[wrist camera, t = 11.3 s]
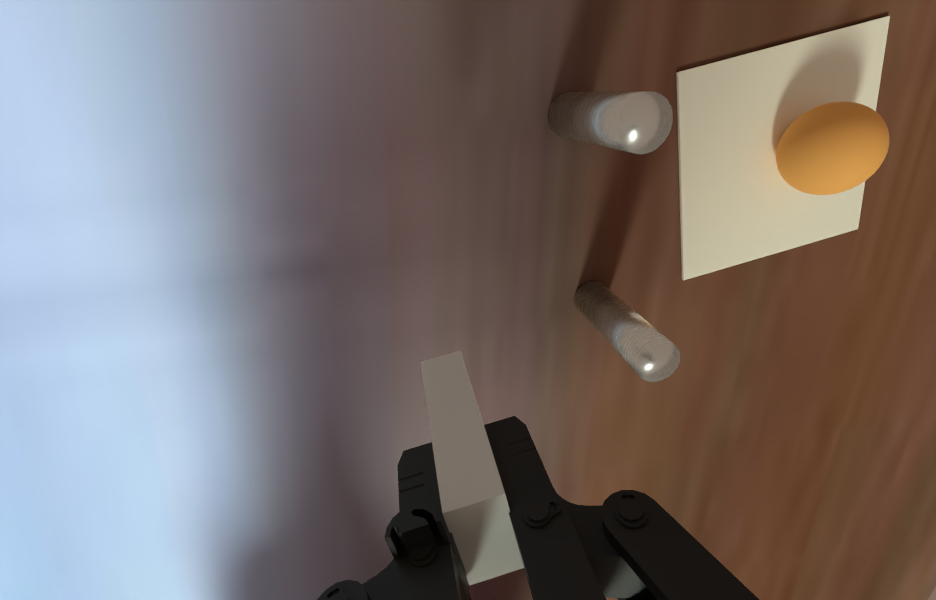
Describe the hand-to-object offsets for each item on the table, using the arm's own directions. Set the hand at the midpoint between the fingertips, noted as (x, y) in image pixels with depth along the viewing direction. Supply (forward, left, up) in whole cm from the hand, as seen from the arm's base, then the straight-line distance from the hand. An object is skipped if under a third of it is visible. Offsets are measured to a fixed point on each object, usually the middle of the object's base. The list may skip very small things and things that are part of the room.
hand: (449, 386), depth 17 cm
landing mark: (+25, 0, -14) cm, 29 cm away
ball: (+26, +1, -12) cm, 29 cm away
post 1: (+11, +6, -14) cm, 19 cm away
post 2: (+11, -6, -14) cm, 19 cm away
